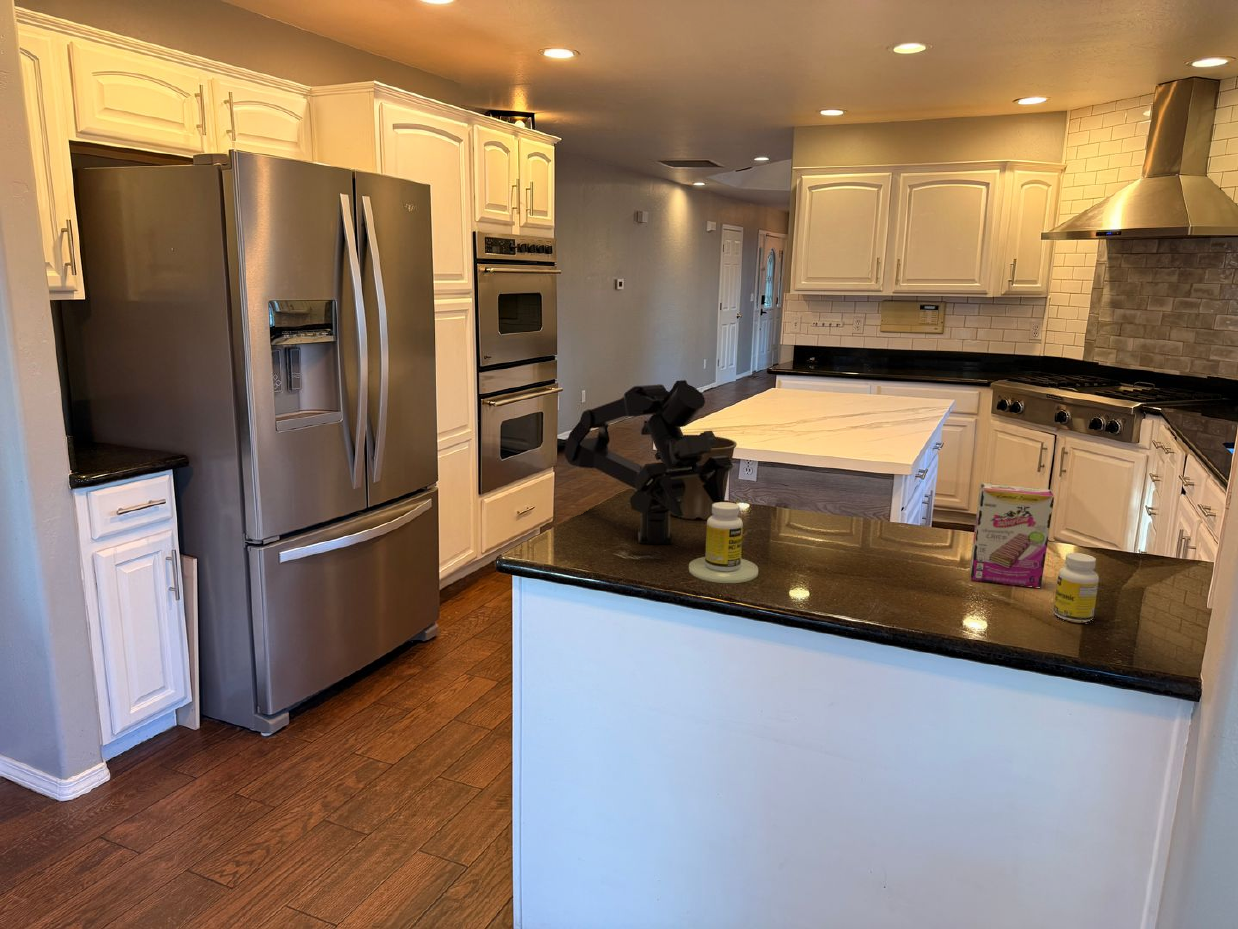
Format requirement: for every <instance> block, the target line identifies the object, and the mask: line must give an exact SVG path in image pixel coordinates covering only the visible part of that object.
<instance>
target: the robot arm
mask: <svg viewBox="0 0 1238 929" xmlns="http://www.w3.org/2000/svg"><path fill="white" fill-rule="evenodd" d="M705 403H706V400H705V396H704V394H703V393H702V391H701V392H700V391H699V390H698V389H697V388H696V387H695V386H693V385H690V384H688V382H687V380H685V379H683V380H681V379H680V380H676V382H674V384H673V386H672V388H670V390H669V391H668V390H667V388H666V387H665V386H664V384H661V383H660V384H649V385H636V386H633V387H630V389H628V390H627V391H625V392H624V394H623V397H621V398H619V399H616V400H613V401H611V402H608V403H606V404H605V403H604V404H602V405H599V406H597V407H595V408H591V409H590V408H589V409H586V410H585V411H583V412H582V414H581V416H580V419H579V422H578V423H577V424H576V425H575V427H574V428H573V429H572V430H571V431H570V433H569V434H568V438H567V440H566V444H565V447H564V457H565V459H566V460H567V463H568V464H569V465H571V466H573V467H576V468H581V469H584V468H585V469H595V470H597V471H599V472H601V473H603V474H605V475H607V476H609V477H611V478H613V479H615V480H617V481H619V482H621V483H623V484H625V485H627V486H628V487H631V489H632V488H633V489H634V490H635V492H634V493H633V495H632V496H630V497H629V501H630V508H631V510H633V511H636V512H638V513H640V531H638V532H637V540H638V544H649V545H650V544H652V545H653V544H654V545H655V544H658V545H659V544H660V545H661V544H662V545H664V544H665V545H667V544H668V545H672V544H673V536H672V533H671V514H670V511H671V512H672V513H673V514H675V515H676V516H677V517H676V516H675V517H676V518H679V519H681V518H680V517H681V516H682V515H683V514H682V510H681V507H680V505H681V502H682V499H683V496H684V493H685V483H684V481H683V478H688V477H696V476H699V477H700V480H701V481H702V482H704V483H705V484H704V485H703V488H704V489H705V491H706V492H707V494H708V495H709V497H710V498H711V500H712V501H713V503H719V502H725V500H724V497H723V479H724V477H725V476H726V475H727V474H728V472H729V473H730V471H731V470H732V468H733V467H734V465H733V463H732V462H731V460H730V459H729V457H727V456H716V457H710V458H709V459H708V460H707V461H706V462H705V464H704V465H699V466H697V464H696V463H697V462H699V461H700V460H701V459H702V456H701V455H702V454H704V453H707V452H708V453H709V452H712V450H711V449H712V448H715V447H716V446H717V440H716V437H715V436H716V435H715V434H714V431H713V430H704V431H703V432H700V433H699V434H692V435H693V436H686V437H684V435H685V434H684V433H683V431H682V429H681V428H683V427H686V426H688V425H689V423H691V421H692V420H693V419H694V418H695V417H696V416H697V414H698V413H699V412H700V411H701V410H702V409H703V407H704V406H705ZM642 416H643V417H644V416H650V417H649V419H648V420H644V421H643V425H642V427H641V431H640V435H642V436H650V438H651V440H652V443H653V445H654V447H655V450H656V453H655V454H654V458H655V460H657V461H658V460H659V461H661V462H654V463H653V462H652V463H645V464H644V465H641V464H639V463H636V461H635V462H634V461H632V460H630V459H628V458H626V457H624V456H622V455H620V454H618V453H615V452H613V451H611V450H610V448H609V444H610V435H609V431H608V428H609V425H611V424H613V423H617V422H621V421H623V420H627V419H629V418H632V417H642ZM592 429H598V434H597V436H589V437H587V435H588V434H589V433H590V432H591V430H592ZM728 475H729V474H728Z"/></svg>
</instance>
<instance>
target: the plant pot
mask: <svg viewBox="0 0 1238 929" xmlns="http://www.w3.org/2000/svg"><path fill="white" fill-rule="evenodd" d="M683 435H684V437H686V436H693V435H694V434H683ZM715 437H716V440H717V446H716V447H715V448H712V449H711V450H712V452H709V453H708V452H707V453H704V454H702V455H701V456H702V459H701V460H700V461H699V462H697V463H696V464H697V466H699V465H704V464H705V462H706V461H707V460H708V459H709V458H710V457H716V456H727V457H729V459H730V460H731V463H732V461H733V457H734V452H735V448H736V447H737V442H736V441H735V440H733V439H730V438H727V437H723V436H722V437H721V436H716V435H715ZM729 474H730V471H729V472H728V474H727V475H726V476H725V477H724V479H723V497H724V501H725V499H726V494H727V493H726V491H727V486H728V481H729V480H728V479H729ZM683 481H684V483H685V493H684V496H683V499H682V502H681V505H680V507H681V510H682V514H683V515H682V516H681V518H680V519H688V520H696V519H697V518H700V519H701V520H708V518H709V517H711V516H712V515H713V513H712V505H713V504H714V503H713V501H712V500H711V498H710V497H709V495H708V494H707V492H706V491H705V489H704V488H703V485H704V484H705V483H704V482H702V481H701V480H700V477H699V476H696V477H688V478H683ZM670 516H674V517H676V515H675V514H673V513H672V512H671V511H670Z"/></svg>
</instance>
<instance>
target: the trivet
mask: <svg viewBox="0 0 1238 929" xmlns="http://www.w3.org/2000/svg"><path fill="white" fill-rule="evenodd" d="M688 572H689V574H691V575H692V576H693V577H695V578H697V579H700V580H703V581H706V582H710V583H711V582H712V583H720V584H740V583H746V582H750V581H752V580H754V579H756V578H757V577H758V576H759V568H758V566H757V565H756V563H754V562H752V561H750V560H747V559H745V558H741V565H740V567H739V568H738V569H737V570H734V571H726V572H724V571H717V570H713V569H710V568H708V567H707V566H706V564H705V556H703V557H698V558H695V559H692V560H691V561H690V562H689V564H688Z"/></svg>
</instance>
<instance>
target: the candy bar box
mask: <svg viewBox="0 0 1238 929" xmlns="http://www.w3.org/2000/svg"><path fill="white" fill-rule="evenodd" d="M979 485H980V486H979V491H978V499H977V500H978V502H977V507H976V515H975V522H974V523H975V524H974V532H973V541H972V549H971V555H970V556H971V557H970V564H969V575H970V580H971V581H977V582H982V583H983V582H985V583H990V582H992V584H998V583H1005V584H1004V585H1006V584H1013V585H1012V586H1014V585H1023V586H1032V587H1041V588H1042V584H1043V583H1042V582H1043V575H1044V568H1045V562H1046V554H1047V549H1048V543H1049V535H1050V528H1051V521H1052V513H1053V509H1054V500H1055V494H1053V493H1052V490H1051V489H1047V488H1046V489H1045V488H1035V487H1025V486H1015V485H1007V484H1006V485H1004V484H996V483H995V484H994V483H986V482H984V483H983V482H982V483H980V484H979Z"/></svg>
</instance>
